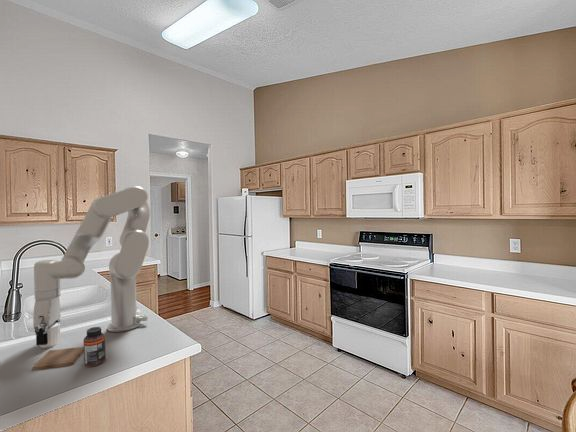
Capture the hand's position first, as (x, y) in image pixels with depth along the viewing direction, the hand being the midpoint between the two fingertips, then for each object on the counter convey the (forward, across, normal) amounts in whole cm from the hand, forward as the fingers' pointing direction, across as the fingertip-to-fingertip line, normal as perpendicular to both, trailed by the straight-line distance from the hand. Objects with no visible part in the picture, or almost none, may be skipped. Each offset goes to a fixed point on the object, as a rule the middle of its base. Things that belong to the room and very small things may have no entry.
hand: (48, 338), depth 111 cm
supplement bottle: (+2, +20, +21) cm, 29 cm away
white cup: (+2, 0, 0) cm, 2 cm away
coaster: (+2, +14, +9) cm, 17 cm away
